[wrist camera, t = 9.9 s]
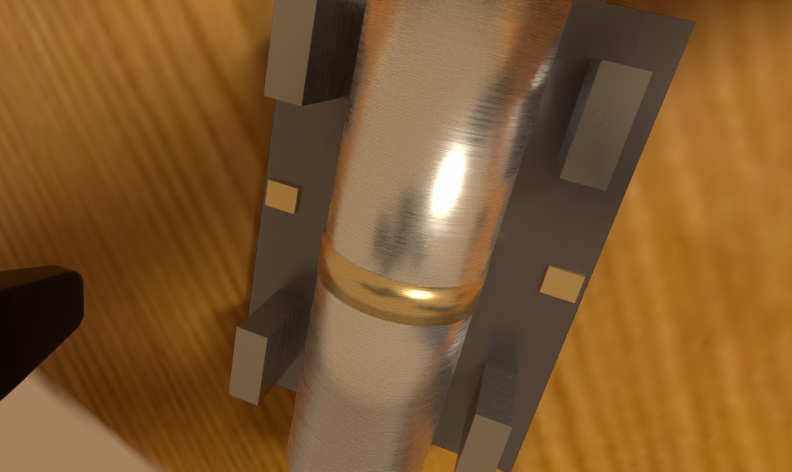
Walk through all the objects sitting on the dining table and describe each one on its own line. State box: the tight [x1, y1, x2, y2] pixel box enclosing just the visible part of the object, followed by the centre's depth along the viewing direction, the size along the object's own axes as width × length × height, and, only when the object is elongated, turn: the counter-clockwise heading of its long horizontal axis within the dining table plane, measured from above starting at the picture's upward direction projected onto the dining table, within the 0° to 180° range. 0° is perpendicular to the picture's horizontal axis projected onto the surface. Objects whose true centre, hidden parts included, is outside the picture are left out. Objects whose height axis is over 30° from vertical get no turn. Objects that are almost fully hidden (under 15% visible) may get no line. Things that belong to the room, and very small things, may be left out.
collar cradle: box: [229, 0, 695, 472], centre depth 17 cm, size 12×17×4 cm
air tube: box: [286, 0, 572, 472], centre depth 16 cm, size 5×16×5 cm, turn 167°
